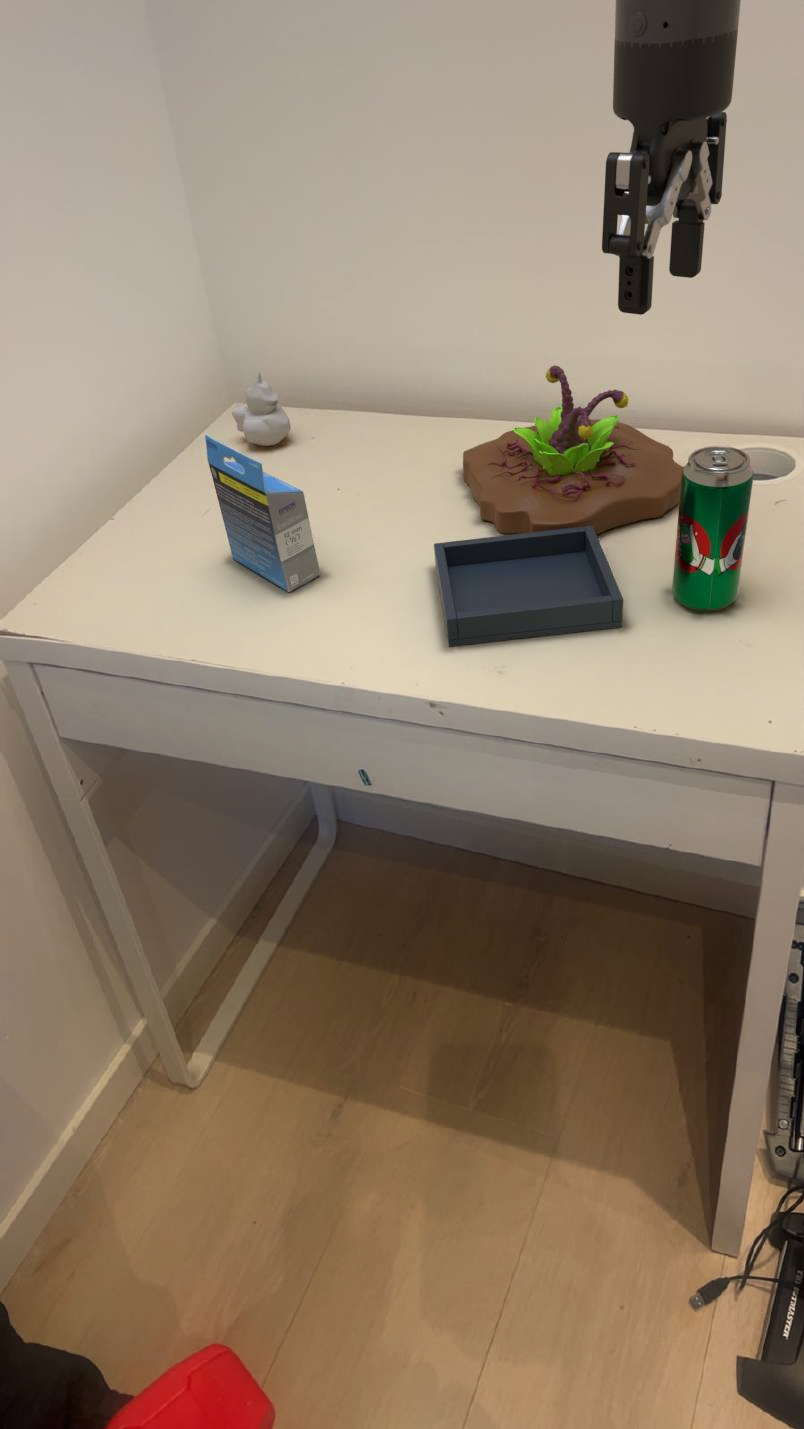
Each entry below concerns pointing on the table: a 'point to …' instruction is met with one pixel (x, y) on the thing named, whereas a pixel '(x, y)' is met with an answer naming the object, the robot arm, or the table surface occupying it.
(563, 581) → the container
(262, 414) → the rubber duck
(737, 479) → the soda can
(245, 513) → the label tape box
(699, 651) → the table surface
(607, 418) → the plant
